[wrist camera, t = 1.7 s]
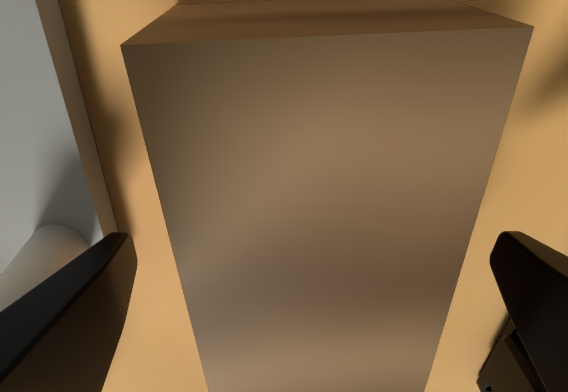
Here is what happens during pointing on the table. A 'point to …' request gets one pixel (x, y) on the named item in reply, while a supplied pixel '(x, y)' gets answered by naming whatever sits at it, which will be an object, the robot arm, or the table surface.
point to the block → (322, 178)
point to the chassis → (44, 152)
